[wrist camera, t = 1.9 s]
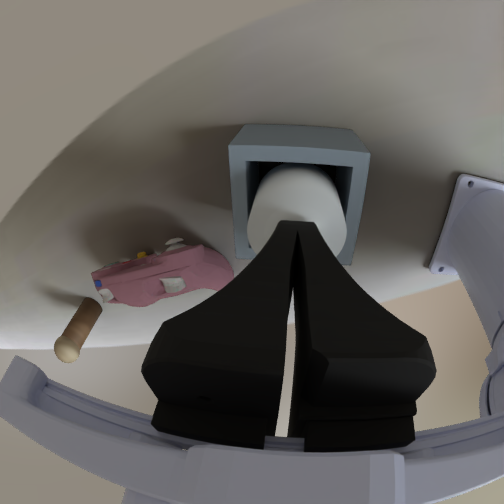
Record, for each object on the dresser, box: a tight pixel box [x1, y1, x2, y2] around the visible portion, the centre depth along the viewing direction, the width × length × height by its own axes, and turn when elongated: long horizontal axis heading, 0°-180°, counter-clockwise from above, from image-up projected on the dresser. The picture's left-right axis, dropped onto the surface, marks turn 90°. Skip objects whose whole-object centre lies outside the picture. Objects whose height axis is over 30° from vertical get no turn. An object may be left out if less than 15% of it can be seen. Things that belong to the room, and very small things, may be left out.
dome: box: [247, 162, 347, 257], centre depth 13 cm, size 4×4×4 cm
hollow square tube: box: [228, 124, 371, 265], centre depth 15 cm, size 6×6×4 cm
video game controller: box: [91, 238, 234, 307], centre depth 20 cm, size 10×5×7 cm, turn 110°
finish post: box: [54, 298, 102, 363], centre depth 25 cm, size 3×3×8 cm
